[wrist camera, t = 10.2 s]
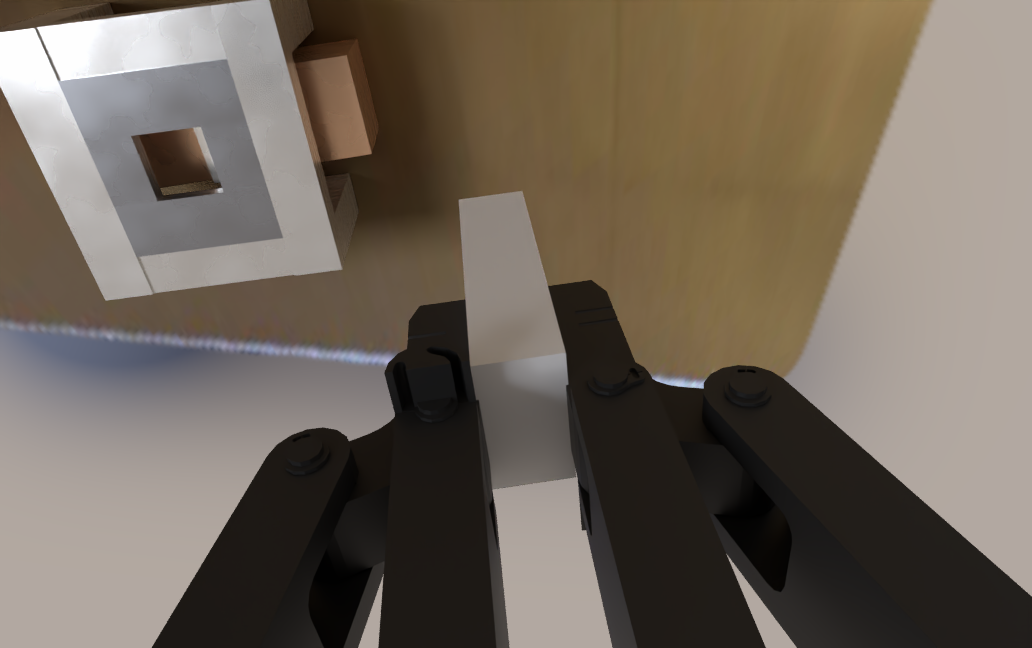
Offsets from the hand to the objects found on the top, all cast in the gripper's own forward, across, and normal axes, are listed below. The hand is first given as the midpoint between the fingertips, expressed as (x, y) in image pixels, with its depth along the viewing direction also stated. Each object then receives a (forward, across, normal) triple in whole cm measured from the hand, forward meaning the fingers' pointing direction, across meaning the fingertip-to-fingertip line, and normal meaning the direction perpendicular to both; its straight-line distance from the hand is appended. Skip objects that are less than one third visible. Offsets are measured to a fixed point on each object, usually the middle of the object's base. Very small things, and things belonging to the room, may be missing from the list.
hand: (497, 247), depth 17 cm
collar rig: (+18, -11, -1) cm, 21 cm away
